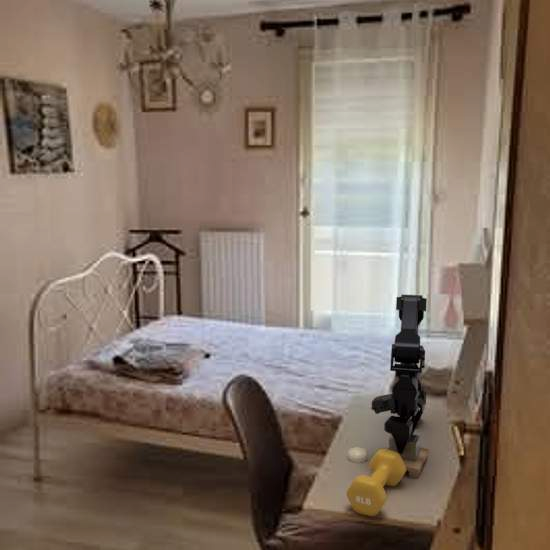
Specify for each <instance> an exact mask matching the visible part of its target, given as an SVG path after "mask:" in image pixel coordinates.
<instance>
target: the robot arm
mask: <svg viewBox="0 0 550 550" xmlns="http://www.w3.org/2000/svg"><path fill="white" fill-rule="evenodd" d="M423 296H424V295H421V294H401V296H397V297H396V304H395V310H396V311H398V319H399V320H400V322H401V325H400V331H399V332H398V333H397V334H396V335H395V337H394V343H391V353H390V364H389V365H390V369H389V371H391V372H394V380H393V385H392V388H391V389H392V391H391V393H388V394H383V395H377V396H375V397H374V399H372V401H371V410H372V411H374V413H375V415H377V414H380V413H385V412H390V414H392V415H390V416H389V417H388V418H387V419H386V420H385V422H384V424H383V425H384V427H383V429H384V430H383V431H385V433H387V434H390V436H391V435H392V436H393V438H394V441H395V444H396V448H397V451H398V453H399V454H402V453H403V451H404V449H405V447H406V444H407V442H408V440H409V438H410V435H411V434H413V435H414V434H415V431H416V429H417V428H419V426H420V424H421V422H422V420H423V419H422V417H423V414H424V412H425V411H424V410H425V409H426V406H427V391H426V390H425V387H424V386H422V383H423V380H422V378H421V376H420V375H419V374H422V373H423V372H422V371H423V369H425V363H426V349H425V348H424V347H425V346H424V345H421V336H420V335H419V325H420V324H421V323H422V321H423V320H424V317H425V316H424V315H425V312H427V305H428V303H427V298H426V297H423ZM396 415H397V416H396Z"/></svg>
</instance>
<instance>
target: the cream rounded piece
mask: <svg viewBox="0 0 550 550" xmlns="http://www.w3.org/2000/svg"><path fill="white" fill-rule="evenodd" d="M367 456H368V453H367V449H365V448H363V447H356V446H355V447H351V448H349V449H348V459H347V460H349V462H351V463H354V462H355V464H360V463H359V462H363V461H365V460H366V459H367ZM366 461H367V460H366ZM366 461H365V462H366ZM356 462H357V463H356ZM363 463H364V462H363Z"/></svg>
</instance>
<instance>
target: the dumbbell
mask: <svg viewBox="0 0 550 550" xmlns="http://www.w3.org/2000/svg"><path fill="white" fill-rule="evenodd" d="M368 468H369V471H370V473H371V475H370V476H368V475H364V474H363V475H358V476H357V477H356V478H355V479H354V480H353V481H352V483H351V484H350V486H349V487H348V488H347V489H346V490H347V491H346V497H347V500H348V502H349V503H350V505H351V508H352V509H353V510H354V512H355V513H358V514H361V515H364V516H367V517H375V516H377V515H378V514H379V512H381V510H382V508H383V507H384V505H385V504H386V502H387V499H388V496H387V493H386V491H385V488H384V487H385V486H388V487H396V485H398V484H399V483H400V481H401V480H402V479H403V477H404V476H405V474H406V472H407V470H406V466H405V464H404V462H403V460H402V458H401V456H400V455H399V454H398V453H397V452H395V451H391V450H387V448H381V449H378V450H377V452H376V453H375V454H374V456H373V457H372V458H371V459H370V461H369V464H368Z"/></svg>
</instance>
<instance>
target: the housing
mask: <svg viewBox="0 0 550 550" xmlns="http://www.w3.org/2000/svg"><path fill="white" fill-rule="evenodd" d="M388 447H389V450H391V451H395V452H397V453H398V451H397V448H396V444H395V441H394V438H393V436H392V435H391V434H390V436H389V438H388ZM420 448H421V435H417V434H414V433H413V434H411V435H410V438H409V440H408V442H407V444H406V447H405V449H404V451H403V453H402V454H399V453H398V454H399V455H400V456H401V458H402V459H405V460H410V461H415V462H416V460H417V458H418V456H419V454H420Z"/></svg>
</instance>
